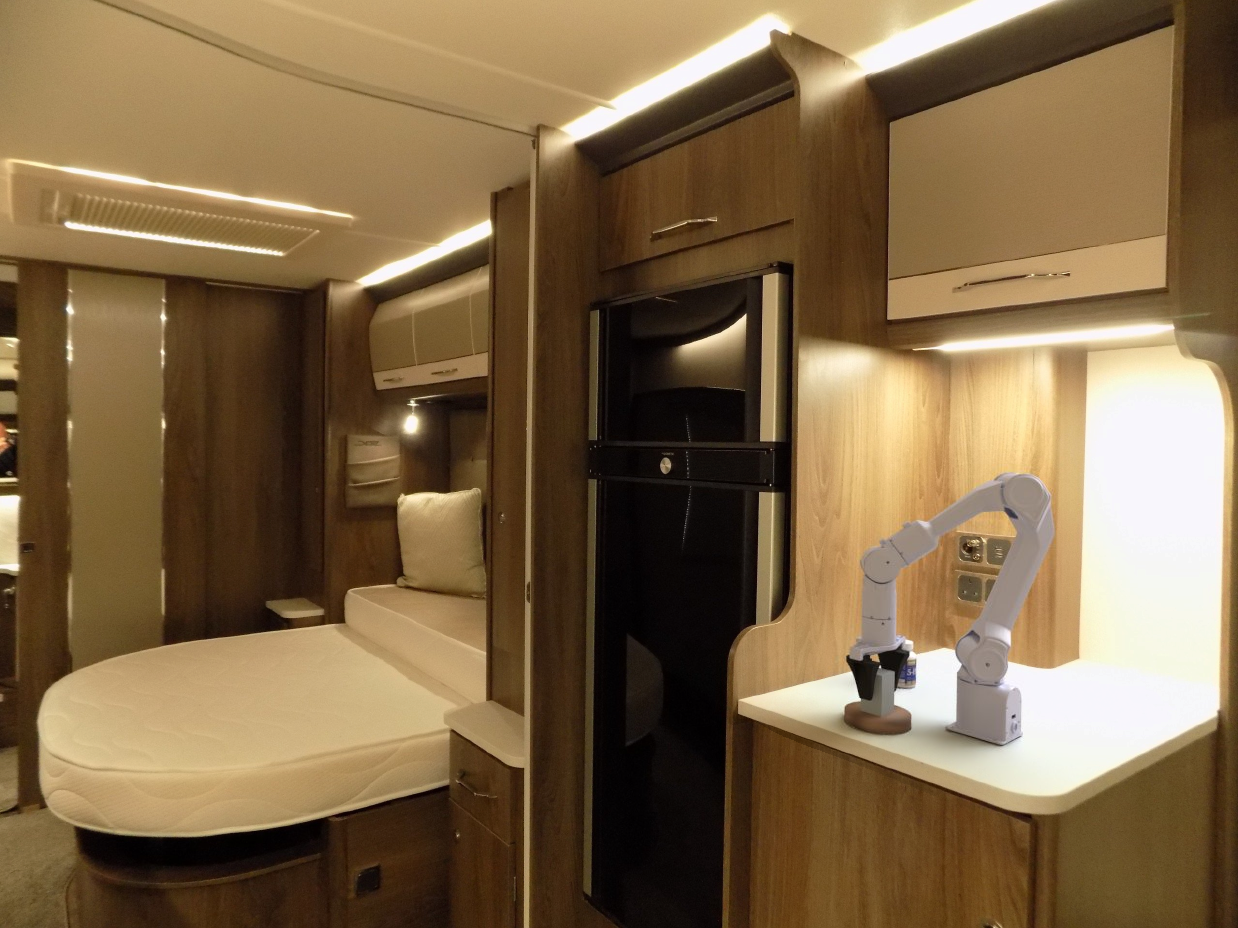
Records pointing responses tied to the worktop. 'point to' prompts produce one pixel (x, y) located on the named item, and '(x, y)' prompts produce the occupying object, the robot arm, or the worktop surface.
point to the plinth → (877, 720)
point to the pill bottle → (908, 669)
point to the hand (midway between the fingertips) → (877, 694)
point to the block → (881, 694)
